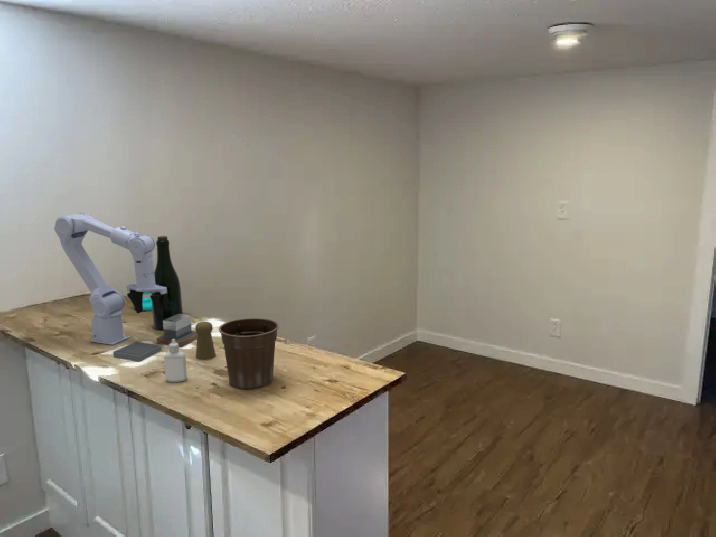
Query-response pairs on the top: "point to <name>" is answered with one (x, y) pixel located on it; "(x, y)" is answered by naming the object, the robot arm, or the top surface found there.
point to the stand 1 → (137, 351)
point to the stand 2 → (180, 341)
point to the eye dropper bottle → (175, 364)
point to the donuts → (147, 302)
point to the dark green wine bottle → (166, 284)
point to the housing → (177, 326)
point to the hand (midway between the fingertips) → (149, 313)
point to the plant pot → (249, 351)
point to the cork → (204, 341)
